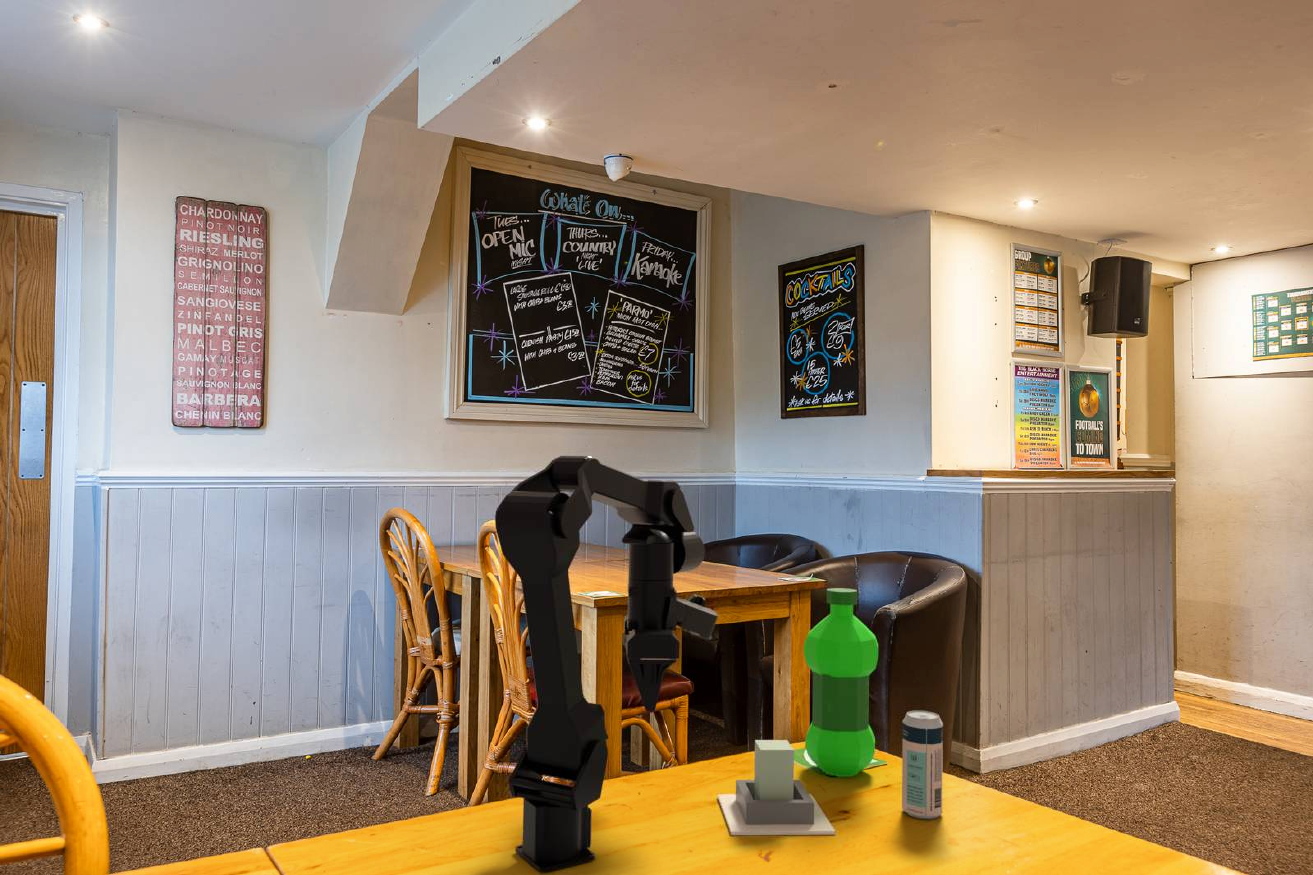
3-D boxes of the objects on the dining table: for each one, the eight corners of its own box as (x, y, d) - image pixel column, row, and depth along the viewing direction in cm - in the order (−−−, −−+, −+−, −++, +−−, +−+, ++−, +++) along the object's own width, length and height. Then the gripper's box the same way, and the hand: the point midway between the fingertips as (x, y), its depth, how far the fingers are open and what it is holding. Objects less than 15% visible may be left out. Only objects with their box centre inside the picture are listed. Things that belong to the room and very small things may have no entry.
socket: (835, 834, 107) (835, 808, 107) (731, 835, 106) (731, 809, 106) (811, 797, 119) (811, 774, 119) (717, 797, 118) (718, 774, 118)
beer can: (938, 807, 116) (938, 710, 116) (946, 822, 111) (946, 720, 111) (898, 805, 116) (899, 708, 117) (905, 820, 111) (905, 719, 112)
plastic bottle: (787, 768, 130) (789, 588, 131) (835, 754, 137) (837, 583, 137) (844, 788, 122) (846, 597, 123) (892, 772, 129) (894, 591, 130)
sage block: (793, 818, 110) (793, 750, 111) (759, 818, 110) (760, 750, 110) (786, 805, 114) (787, 740, 115) (754, 805, 114) (755, 740, 114)
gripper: (723, 588, 109) (720, 722, 109) (705, 570, 128) (704, 685, 128) (628, 587, 109) (625, 722, 108) (625, 569, 127) (622, 684, 127)
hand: (648, 701), depth 118 cm, fingers open, 9 cm apart
